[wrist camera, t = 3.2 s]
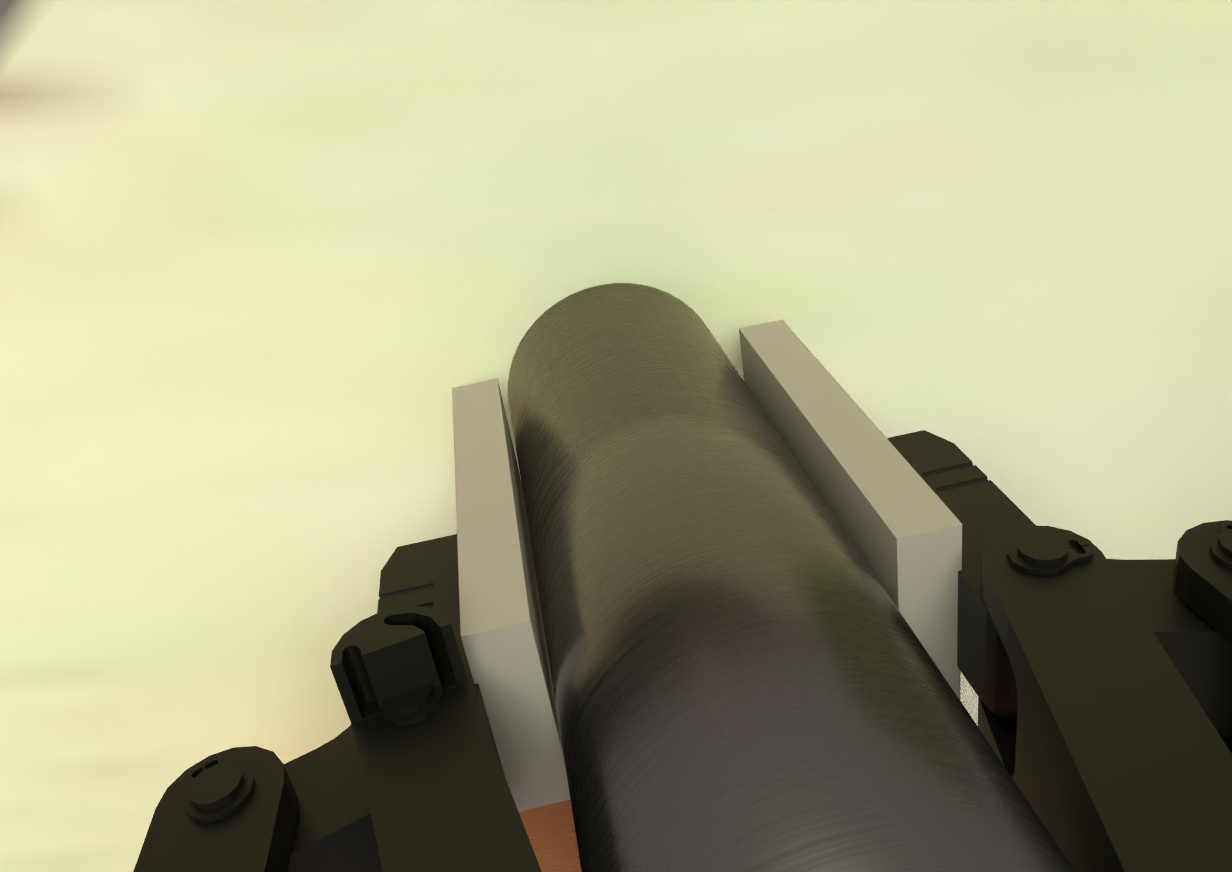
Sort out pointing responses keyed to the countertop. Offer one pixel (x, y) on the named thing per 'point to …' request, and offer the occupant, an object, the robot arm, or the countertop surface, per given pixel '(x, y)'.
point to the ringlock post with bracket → (553, 836)
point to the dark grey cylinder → (728, 628)
